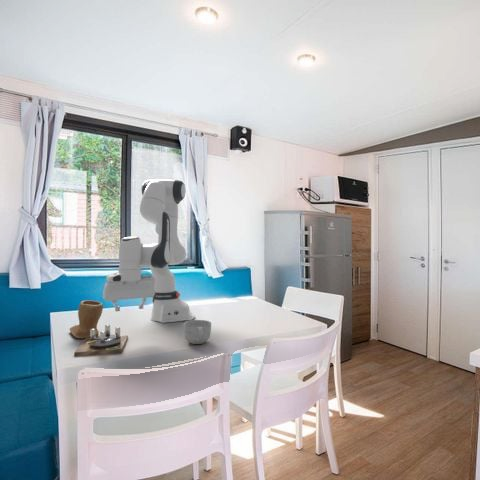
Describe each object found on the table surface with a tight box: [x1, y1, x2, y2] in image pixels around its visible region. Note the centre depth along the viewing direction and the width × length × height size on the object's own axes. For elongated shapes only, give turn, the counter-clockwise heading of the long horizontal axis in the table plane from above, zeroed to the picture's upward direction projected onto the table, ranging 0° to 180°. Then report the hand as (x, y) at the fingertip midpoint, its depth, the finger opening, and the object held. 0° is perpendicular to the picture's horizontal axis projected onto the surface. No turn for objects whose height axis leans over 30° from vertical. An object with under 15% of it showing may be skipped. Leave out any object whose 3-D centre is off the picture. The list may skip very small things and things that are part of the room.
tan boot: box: [69, 299, 104, 339], centre depth 142 cm, size 15×12×15 cm
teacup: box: [183, 319, 212, 345], centre depth 131 cm, size 14×11×8 cm
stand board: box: [73, 334, 129, 357], centre depth 126 cm, size 16×17×2 cm
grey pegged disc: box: [86, 324, 121, 348], centre depth 125 cm, size 11×11×6 cm
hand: (129, 309), depth 134 cm, fingers open, 8 cm apart
